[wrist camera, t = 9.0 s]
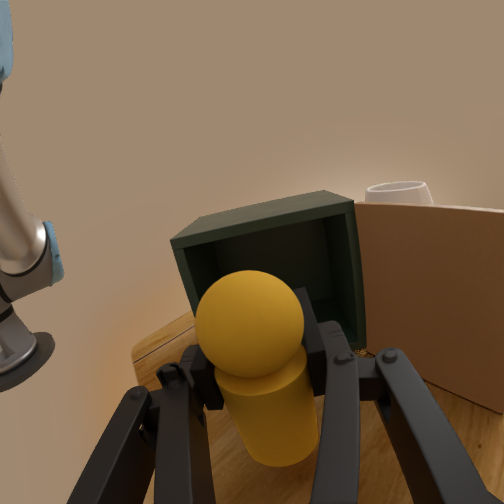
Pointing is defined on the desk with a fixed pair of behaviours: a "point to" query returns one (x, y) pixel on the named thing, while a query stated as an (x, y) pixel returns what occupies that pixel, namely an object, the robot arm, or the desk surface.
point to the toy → (260, 364)
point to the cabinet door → (437, 292)
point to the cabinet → (283, 254)
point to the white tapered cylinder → (399, 193)
